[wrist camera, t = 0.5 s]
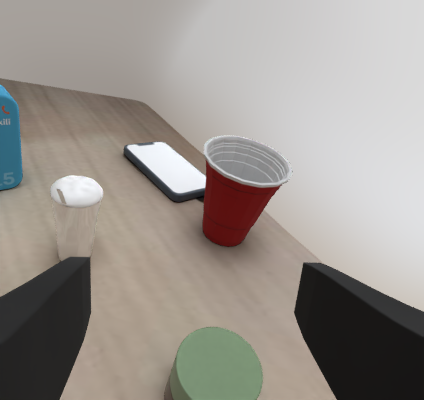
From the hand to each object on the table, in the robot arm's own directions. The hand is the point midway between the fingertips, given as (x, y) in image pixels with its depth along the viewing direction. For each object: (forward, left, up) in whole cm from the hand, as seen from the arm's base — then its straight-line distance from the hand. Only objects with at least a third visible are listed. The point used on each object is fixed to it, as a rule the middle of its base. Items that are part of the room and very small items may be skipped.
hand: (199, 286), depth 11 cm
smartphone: (+41, -5, -19) cm, 45 cm away
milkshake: (+20, +7, -19) cm, 28 cm away
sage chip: (+5, -5, -16) cm, 17 cm away
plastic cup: (+26, -11, -19) cm, 34 cm away
